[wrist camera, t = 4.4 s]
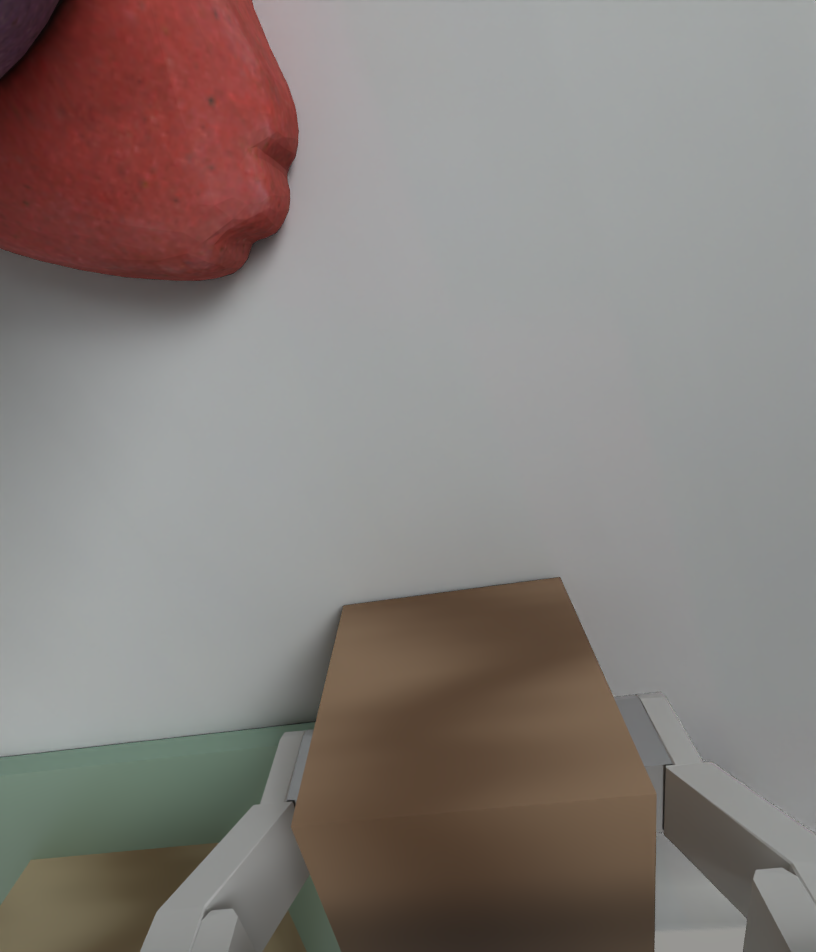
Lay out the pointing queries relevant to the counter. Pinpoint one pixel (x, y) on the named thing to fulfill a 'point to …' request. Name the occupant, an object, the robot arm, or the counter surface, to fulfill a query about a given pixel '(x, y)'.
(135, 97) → the stacking bear
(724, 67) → the counter surface
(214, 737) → the build pad
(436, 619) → the walnut cube
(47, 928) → the oak base block
